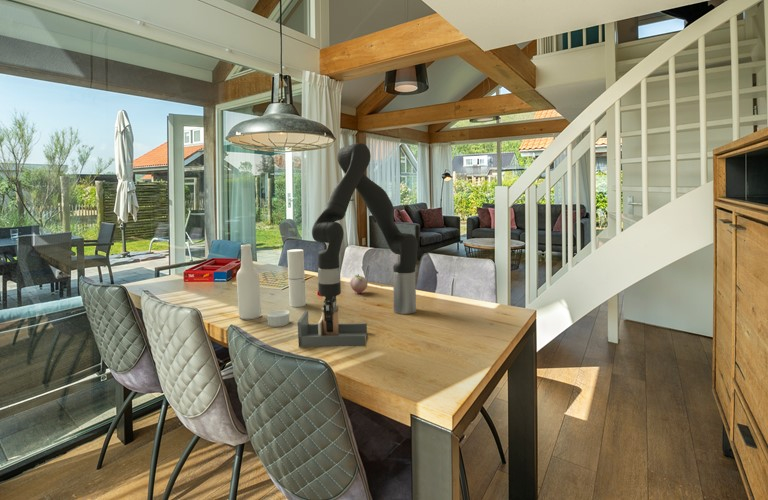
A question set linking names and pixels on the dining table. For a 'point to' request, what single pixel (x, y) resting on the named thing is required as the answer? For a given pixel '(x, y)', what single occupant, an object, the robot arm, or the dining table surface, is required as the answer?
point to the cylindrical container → (296, 277)
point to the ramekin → (278, 318)
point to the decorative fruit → (358, 283)
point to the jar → (335, 323)
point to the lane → (347, 335)
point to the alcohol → (248, 286)
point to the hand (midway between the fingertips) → (330, 328)
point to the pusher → (320, 327)
